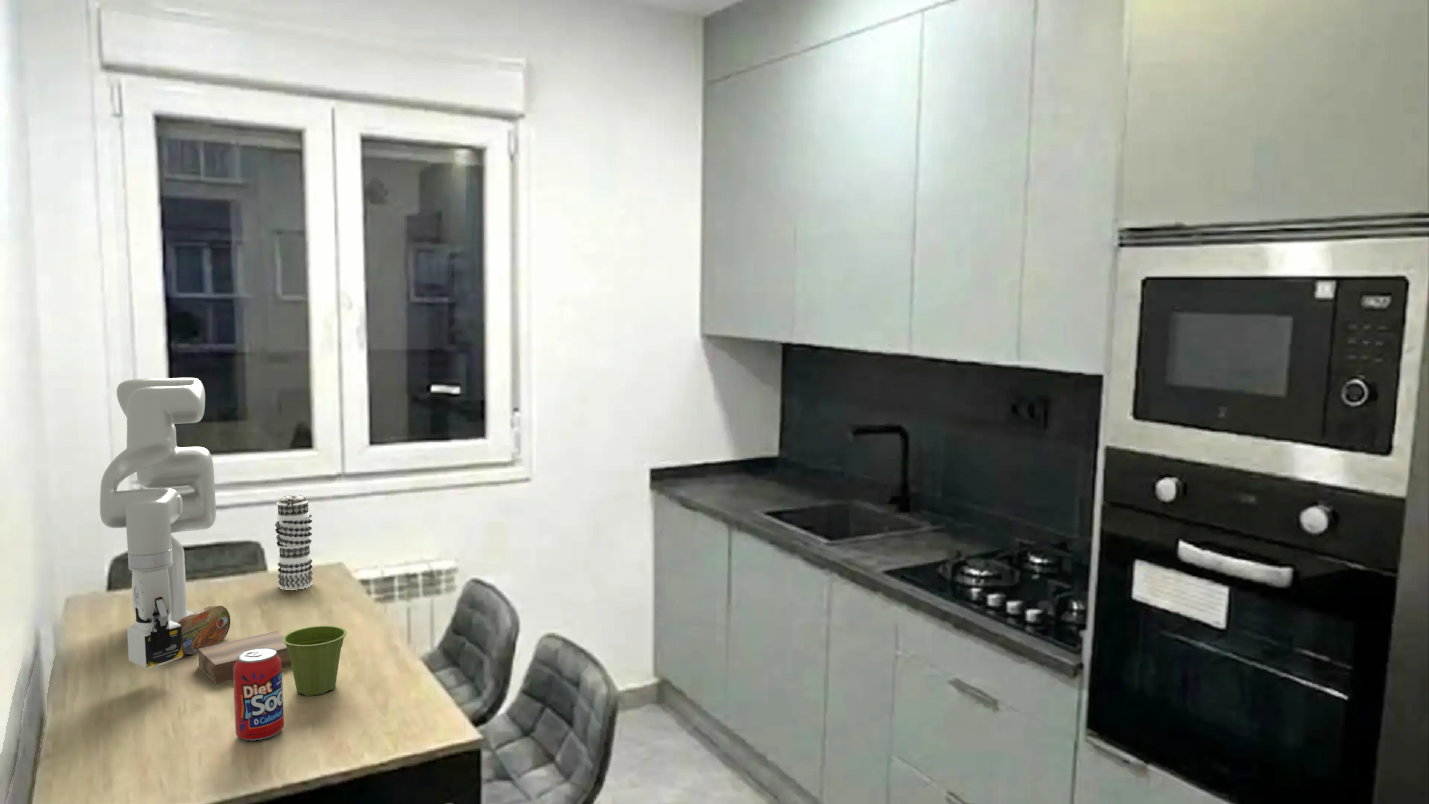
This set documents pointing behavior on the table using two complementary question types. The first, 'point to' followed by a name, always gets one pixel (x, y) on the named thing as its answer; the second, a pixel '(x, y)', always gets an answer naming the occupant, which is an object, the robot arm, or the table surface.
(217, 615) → the tin
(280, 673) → the soda can
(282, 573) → the decorative candle
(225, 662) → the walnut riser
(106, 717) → the table surface
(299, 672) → the plant pot
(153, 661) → the medicine bottle
